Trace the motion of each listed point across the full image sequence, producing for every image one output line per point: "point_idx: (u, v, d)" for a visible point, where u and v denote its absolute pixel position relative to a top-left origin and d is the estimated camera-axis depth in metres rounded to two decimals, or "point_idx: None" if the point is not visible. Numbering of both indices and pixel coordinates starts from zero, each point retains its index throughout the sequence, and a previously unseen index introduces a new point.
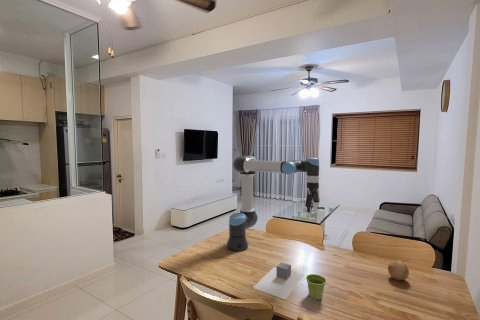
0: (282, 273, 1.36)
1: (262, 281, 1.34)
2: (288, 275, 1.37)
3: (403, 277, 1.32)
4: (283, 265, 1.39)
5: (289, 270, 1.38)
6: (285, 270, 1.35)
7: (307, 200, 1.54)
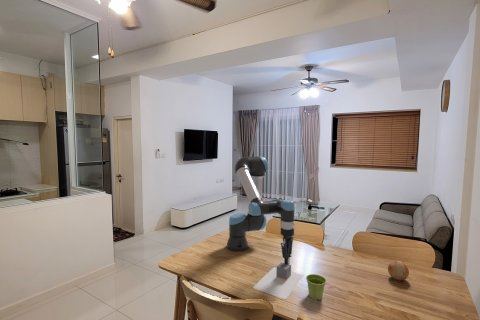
0: (282, 273, 1.36)
1: (262, 281, 1.34)
2: (288, 275, 1.37)
3: (403, 277, 1.32)
4: (283, 265, 1.39)
5: (289, 270, 1.38)
6: (285, 270, 1.35)
7: (283, 252, 1.38)
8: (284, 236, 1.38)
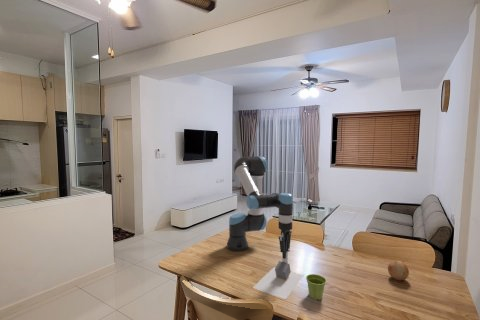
0: (281, 274, 1.35)
1: (262, 281, 1.34)
2: (287, 274, 1.36)
3: (403, 277, 1.32)
4: (281, 265, 1.37)
5: (288, 269, 1.36)
6: (284, 272, 1.33)
7: (281, 247, 1.36)
8: (282, 230, 1.35)
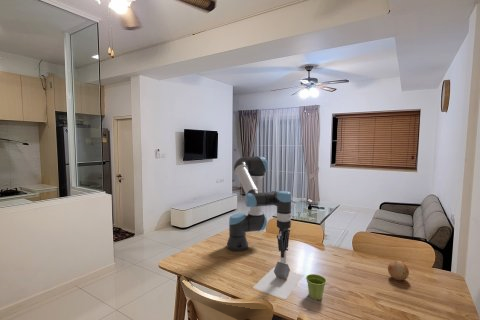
0: (281, 276, 1.34)
1: (262, 281, 1.34)
2: (287, 274, 1.35)
3: (403, 277, 1.32)
4: (280, 267, 1.35)
5: (287, 270, 1.35)
6: (283, 274, 1.32)
7: (279, 245, 1.33)
8: (280, 228, 1.33)
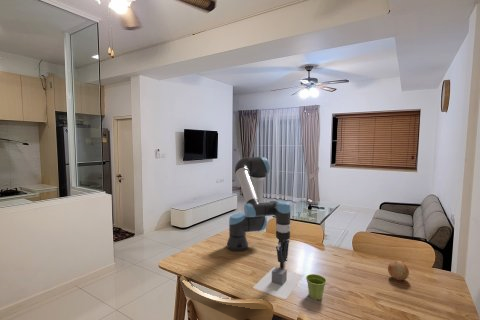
0: None
1: (262, 281, 1.34)
2: (285, 277, 1.33)
3: (403, 277, 1.32)
4: (276, 277, 1.31)
5: (283, 276, 1.31)
6: None
7: (278, 256, 1.33)
8: (279, 239, 1.33)
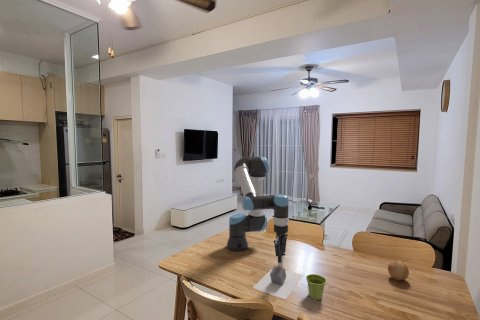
0: None
1: (262, 281, 1.34)
2: (284, 275, 1.32)
3: (403, 277, 1.32)
4: (275, 279, 1.30)
5: (282, 276, 1.30)
6: None
7: (276, 250, 1.31)
8: (277, 233, 1.30)
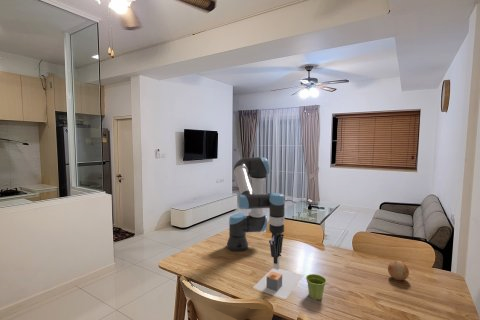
0: None
1: (262, 281, 1.34)
2: (280, 279, 1.27)
3: (403, 277, 1.32)
4: None
5: (279, 285, 1.26)
6: None
7: (272, 251, 1.26)
8: (273, 233, 1.26)
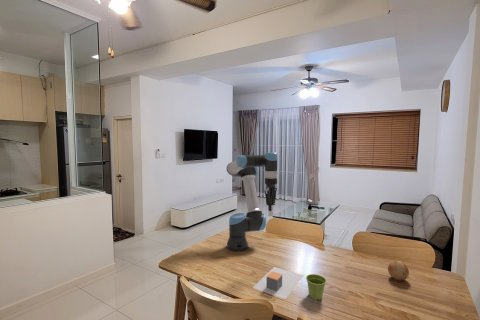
0: None
1: (262, 281, 1.34)
2: (280, 279, 1.27)
3: (403, 277, 1.32)
4: None
5: (279, 285, 1.26)
6: None
7: (267, 199, 1.51)
8: (268, 184, 1.50)
